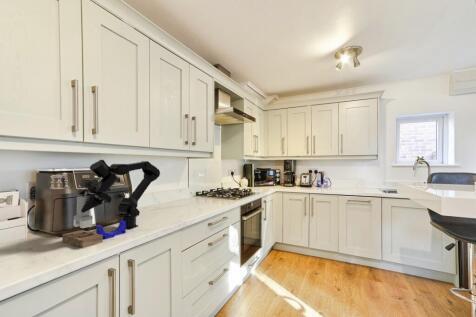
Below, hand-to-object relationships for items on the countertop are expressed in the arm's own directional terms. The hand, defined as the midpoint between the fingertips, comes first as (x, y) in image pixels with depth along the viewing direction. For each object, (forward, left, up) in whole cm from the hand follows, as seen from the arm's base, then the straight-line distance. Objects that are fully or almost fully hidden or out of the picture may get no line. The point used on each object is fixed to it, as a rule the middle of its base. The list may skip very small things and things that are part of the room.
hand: (79, 211), depth 96 cm
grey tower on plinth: (-1, 0, -7) cm, 7 cm away
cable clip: (-11, +6, -14) cm, 19 cm away
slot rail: (-1, 0, -13) cm, 14 cm away
